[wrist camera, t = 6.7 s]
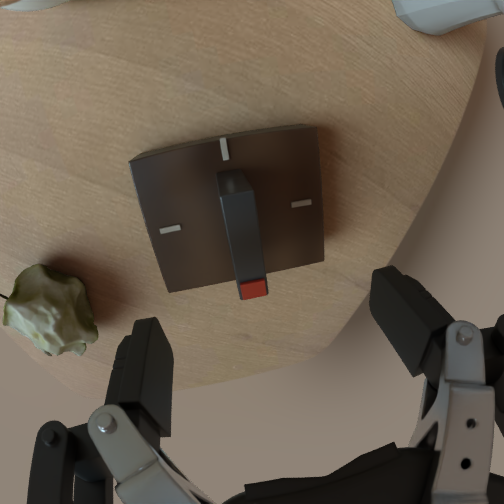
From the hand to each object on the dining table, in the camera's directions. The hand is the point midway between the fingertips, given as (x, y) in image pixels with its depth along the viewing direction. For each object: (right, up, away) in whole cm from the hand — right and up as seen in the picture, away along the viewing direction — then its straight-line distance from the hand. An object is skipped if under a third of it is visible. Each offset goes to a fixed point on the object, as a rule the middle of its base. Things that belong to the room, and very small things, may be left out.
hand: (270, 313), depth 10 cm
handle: (-2, +5, +9) cm, 10 cm away
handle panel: (-2, +6, +11) cm, 13 cm away
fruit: (-19, -2, +13) cm, 23 cm away
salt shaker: (+13, +23, +5) cm, 27 cm away
